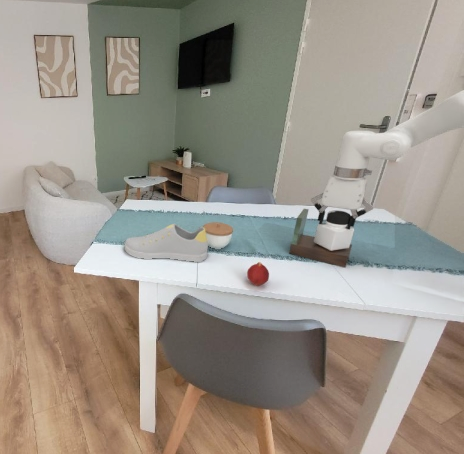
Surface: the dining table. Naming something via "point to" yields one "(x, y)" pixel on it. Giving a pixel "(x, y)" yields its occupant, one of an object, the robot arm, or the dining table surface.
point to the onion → (258, 274)
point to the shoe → (170, 244)
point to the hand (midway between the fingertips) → (334, 225)
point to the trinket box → (218, 234)
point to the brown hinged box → (315, 246)
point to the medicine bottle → (334, 231)
